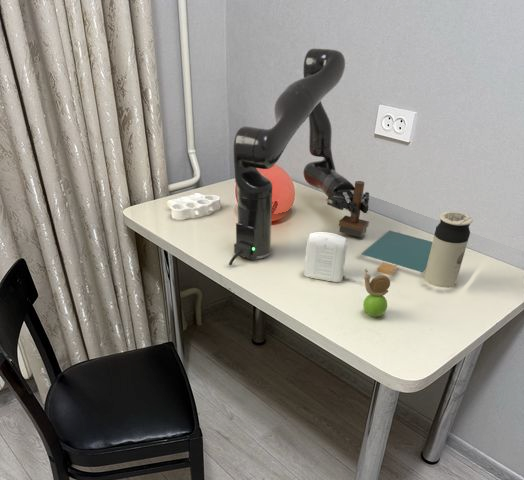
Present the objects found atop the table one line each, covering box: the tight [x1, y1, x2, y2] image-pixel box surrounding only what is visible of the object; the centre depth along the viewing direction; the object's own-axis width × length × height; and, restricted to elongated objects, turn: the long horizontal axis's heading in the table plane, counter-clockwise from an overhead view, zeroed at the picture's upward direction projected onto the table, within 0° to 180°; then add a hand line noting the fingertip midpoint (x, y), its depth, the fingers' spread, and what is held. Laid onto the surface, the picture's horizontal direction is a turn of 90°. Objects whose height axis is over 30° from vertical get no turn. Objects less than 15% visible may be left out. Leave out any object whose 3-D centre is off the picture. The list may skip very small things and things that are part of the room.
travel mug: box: [423, 211, 473, 288], centre depth 123 cm, size 8×8×18 cm
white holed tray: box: [166, 192, 222, 221], centre depth 164 cm, size 3×18×15 cm
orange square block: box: [376, 261, 398, 276], centre depth 132 cm, size 4×4×2 cm
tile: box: [361, 229, 433, 273], centre depth 142 cm, size 20×18×1 cm
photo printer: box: [303, 231, 348, 283], centre depth 127 cm, size 10×4×12 cm, turn 73°
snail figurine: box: [362, 268, 391, 317], centre depth 113 cm, size 5×6×12 cm
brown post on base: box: [338, 180, 370, 238], centre depth 143 cm, size 5×8×15 cm, turn 58°
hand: (361, 210), depth 140 cm, fingers closed on brown post on base, 2 cm apart
